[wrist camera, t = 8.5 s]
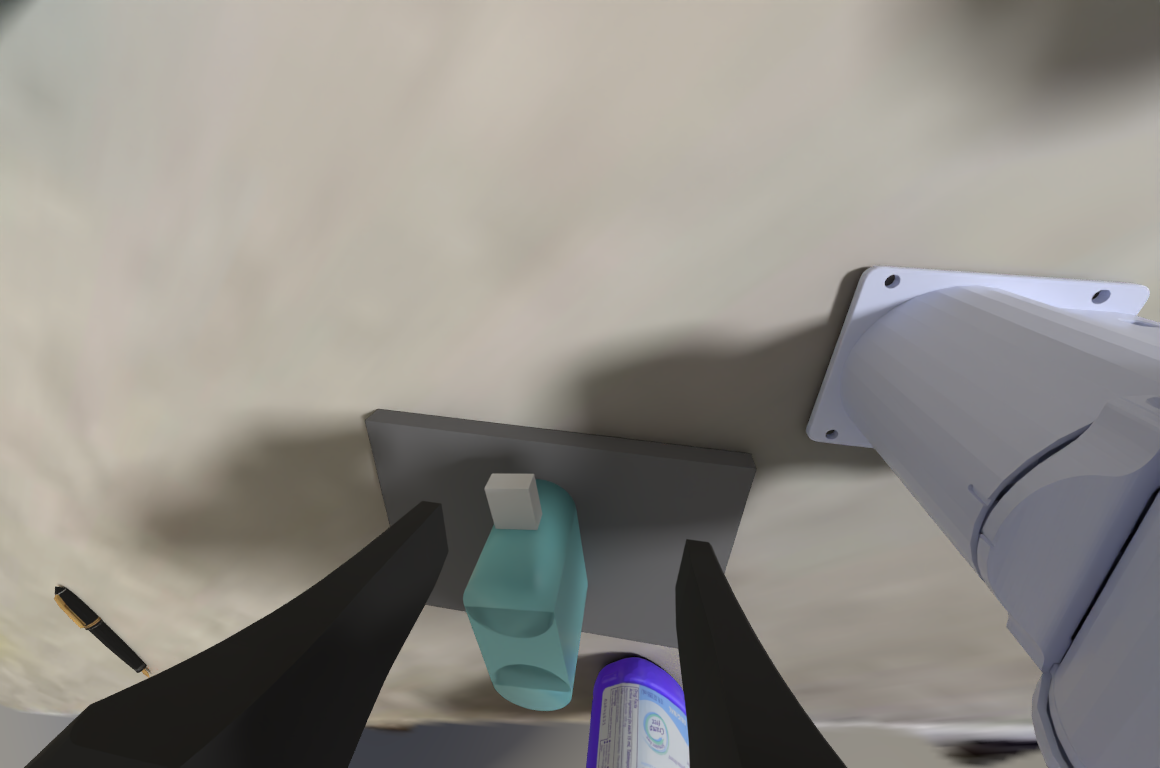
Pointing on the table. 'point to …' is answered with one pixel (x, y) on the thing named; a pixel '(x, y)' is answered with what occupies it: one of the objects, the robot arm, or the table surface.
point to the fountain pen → (97, 627)
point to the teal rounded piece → (529, 592)
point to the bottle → (637, 718)
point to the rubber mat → (601, 495)
